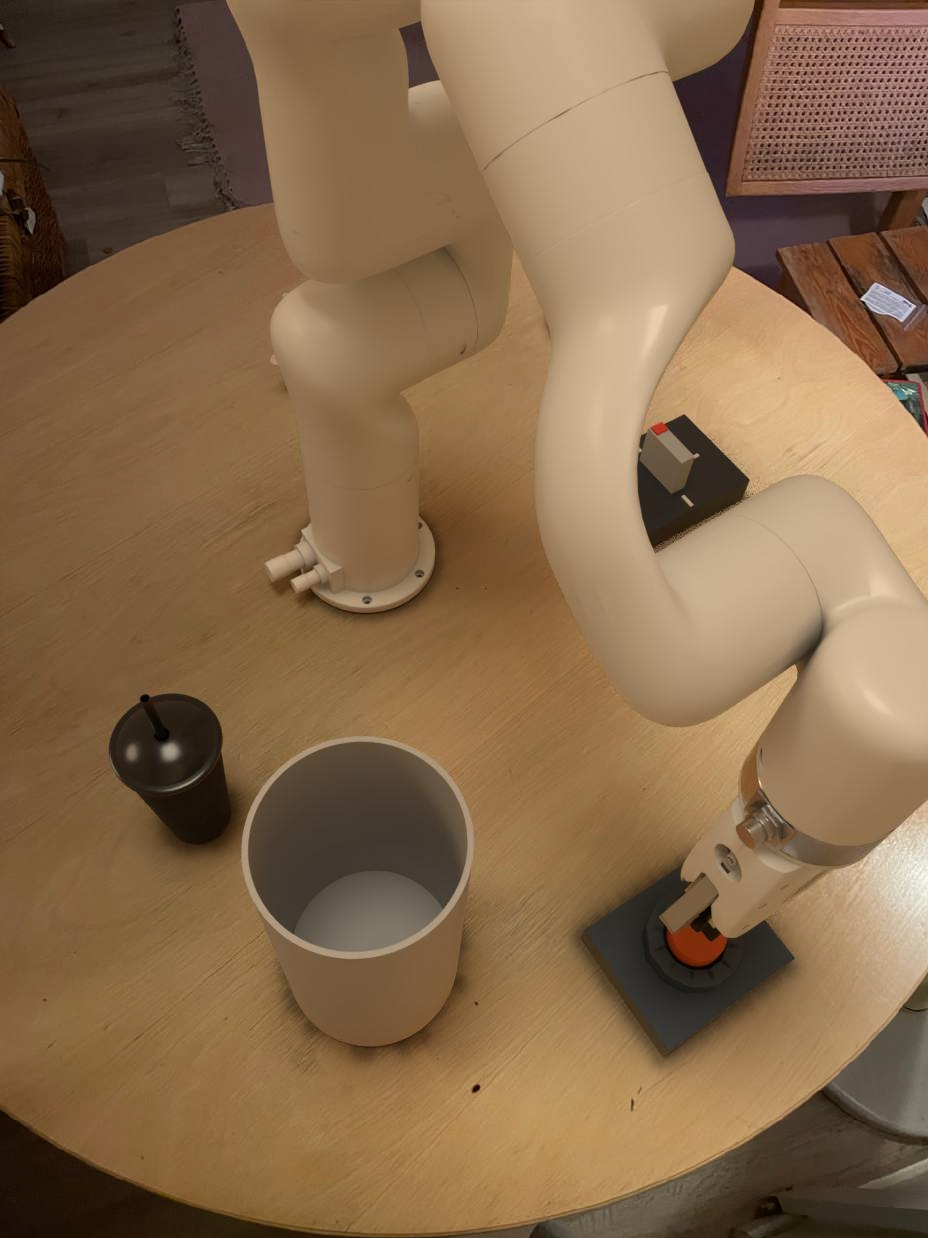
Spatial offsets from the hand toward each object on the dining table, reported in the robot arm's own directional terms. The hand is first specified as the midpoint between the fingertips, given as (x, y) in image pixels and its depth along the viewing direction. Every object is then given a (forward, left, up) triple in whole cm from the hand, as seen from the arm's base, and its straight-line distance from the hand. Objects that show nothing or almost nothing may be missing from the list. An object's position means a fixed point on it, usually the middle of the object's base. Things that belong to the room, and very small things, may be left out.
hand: (727, 898), depth 67 cm
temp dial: (+26, +36, -10) cm, 46 cm away
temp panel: (+26, +36, -13) cm, 46 cm away
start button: (0, 0, -10) cm, 10 cm away
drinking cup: (-26, +29, -14) cm, 41 cm away
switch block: (0, 0, -13) cm, 13 cm away
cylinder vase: (-20, +12, -14) cm, 27 cm away
